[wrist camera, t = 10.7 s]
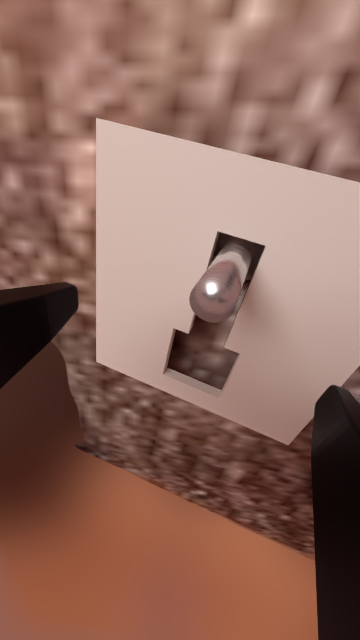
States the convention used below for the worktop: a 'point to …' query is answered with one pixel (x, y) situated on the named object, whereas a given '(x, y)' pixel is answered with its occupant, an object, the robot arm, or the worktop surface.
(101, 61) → the worktop surface
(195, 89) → the worktop surface
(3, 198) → the worktop surface
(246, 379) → the keyhole board
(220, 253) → the steel peg
